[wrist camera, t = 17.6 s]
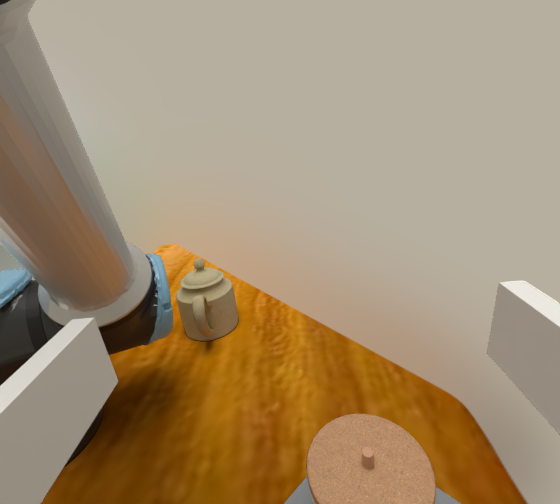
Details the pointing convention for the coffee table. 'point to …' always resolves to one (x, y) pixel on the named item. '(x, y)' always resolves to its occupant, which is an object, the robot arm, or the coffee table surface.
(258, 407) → the coffee table surface
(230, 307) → the beige teapot
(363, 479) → the lidded jar
